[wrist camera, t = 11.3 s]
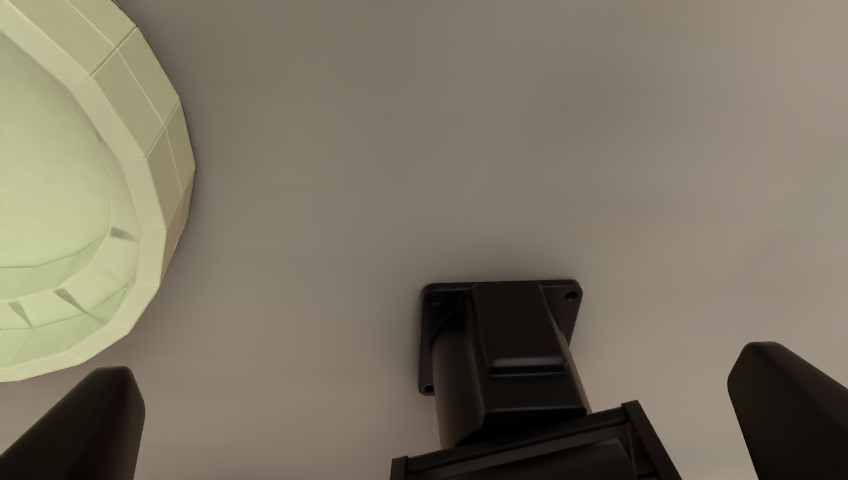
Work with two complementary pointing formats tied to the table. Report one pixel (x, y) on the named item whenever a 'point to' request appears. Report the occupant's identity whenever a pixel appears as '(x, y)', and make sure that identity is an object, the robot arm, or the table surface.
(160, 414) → the table surface
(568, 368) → the robot arm
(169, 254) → the bowl
